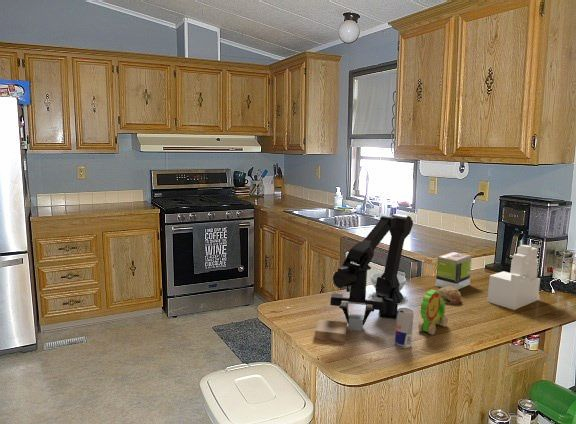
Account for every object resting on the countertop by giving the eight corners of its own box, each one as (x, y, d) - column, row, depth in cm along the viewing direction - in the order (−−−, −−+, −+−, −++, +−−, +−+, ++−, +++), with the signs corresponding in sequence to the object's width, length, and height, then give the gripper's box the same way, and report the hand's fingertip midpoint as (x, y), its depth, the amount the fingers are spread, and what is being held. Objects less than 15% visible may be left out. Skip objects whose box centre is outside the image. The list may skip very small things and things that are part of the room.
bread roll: (435, 308, 196) (435, 294, 192) (437, 292, 204) (438, 278, 200) (459, 312, 192) (460, 298, 188) (461, 295, 200) (462, 282, 196)
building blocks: (514, 310, 187) (521, 250, 183) (487, 301, 196) (492, 245, 192) (537, 300, 200) (544, 244, 196) (511, 292, 209) (517, 239, 205)
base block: (346, 330, 161) (347, 322, 161) (344, 342, 151) (345, 333, 151) (318, 327, 163) (318, 319, 163) (314, 339, 153) (315, 330, 153)
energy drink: (392, 341, 153) (394, 307, 151) (407, 341, 154) (410, 307, 152) (397, 348, 148) (400, 313, 146) (413, 348, 149) (416, 313, 147)
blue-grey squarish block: (362, 325, 167) (363, 314, 166) (362, 330, 162) (363, 319, 161) (349, 323, 167) (349, 313, 167) (348, 329, 163) (348, 318, 162)
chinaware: (392, 287, 211) (393, 271, 210) (411, 298, 197) (412, 281, 196) (363, 290, 205) (364, 274, 204) (381, 301, 192) (382, 284, 190)
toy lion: (434, 321, 172) (437, 282, 170) (448, 325, 168) (451, 286, 166) (414, 333, 161) (417, 292, 158) (428, 338, 157) (432, 296, 154)
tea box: (450, 280, 226) (453, 251, 223) (470, 285, 218) (472, 255, 216) (434, 286, 215) (437, 255, 213) (454, 291, 208) (457, 260, 206)
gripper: (384, 278, 168) (381, 318, 170) (334, 274, 171) (332, 313, 174) (385, 287, 157) (382, 330, 160) (331, 282, 161) (329, 324, 163)
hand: (355, 324), depth 164 cm, fingers closed on blue-grey squarish block, 5 cm apart
